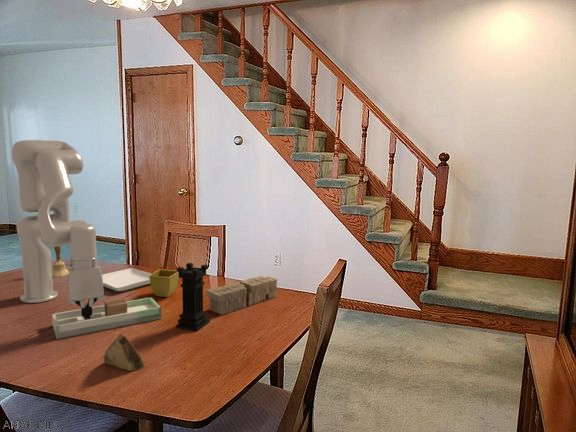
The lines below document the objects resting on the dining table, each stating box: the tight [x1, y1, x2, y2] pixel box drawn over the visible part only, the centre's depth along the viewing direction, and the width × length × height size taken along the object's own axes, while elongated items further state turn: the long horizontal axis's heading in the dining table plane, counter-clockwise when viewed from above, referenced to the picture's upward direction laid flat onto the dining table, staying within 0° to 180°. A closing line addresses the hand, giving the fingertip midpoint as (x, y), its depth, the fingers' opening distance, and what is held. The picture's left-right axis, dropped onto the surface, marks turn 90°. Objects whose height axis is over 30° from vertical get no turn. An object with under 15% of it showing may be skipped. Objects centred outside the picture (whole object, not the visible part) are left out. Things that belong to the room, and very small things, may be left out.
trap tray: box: [51, 296, 162, 340], centre depth 147 cm, size 12×32×4 cm, turn 123°
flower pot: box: [149, 269, 179, 298], centre depth 174 cm, size 9×9×9 cm
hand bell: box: [52, 246, 69, 278], centre depth 196 cm, size 8×8×16 cm
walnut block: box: [103, 297, 127, 316], centre depth 148 cm, size 6×6×4 cm
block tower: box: [205, 275, 278, 316], centre depth 167 cm, size 8×8×29 cm
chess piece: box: [175, 262, 211, 332], centre depth 145 cm, size 8×8×20 cm
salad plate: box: [102, 267, 152, 292], centre depth 187 cm, size 21×21×3 cm
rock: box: [103, 333, 146, 371], centre depth 120 cm, size 11×9×10 cm
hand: (87, 317), depth 143 cm, fingers closed
